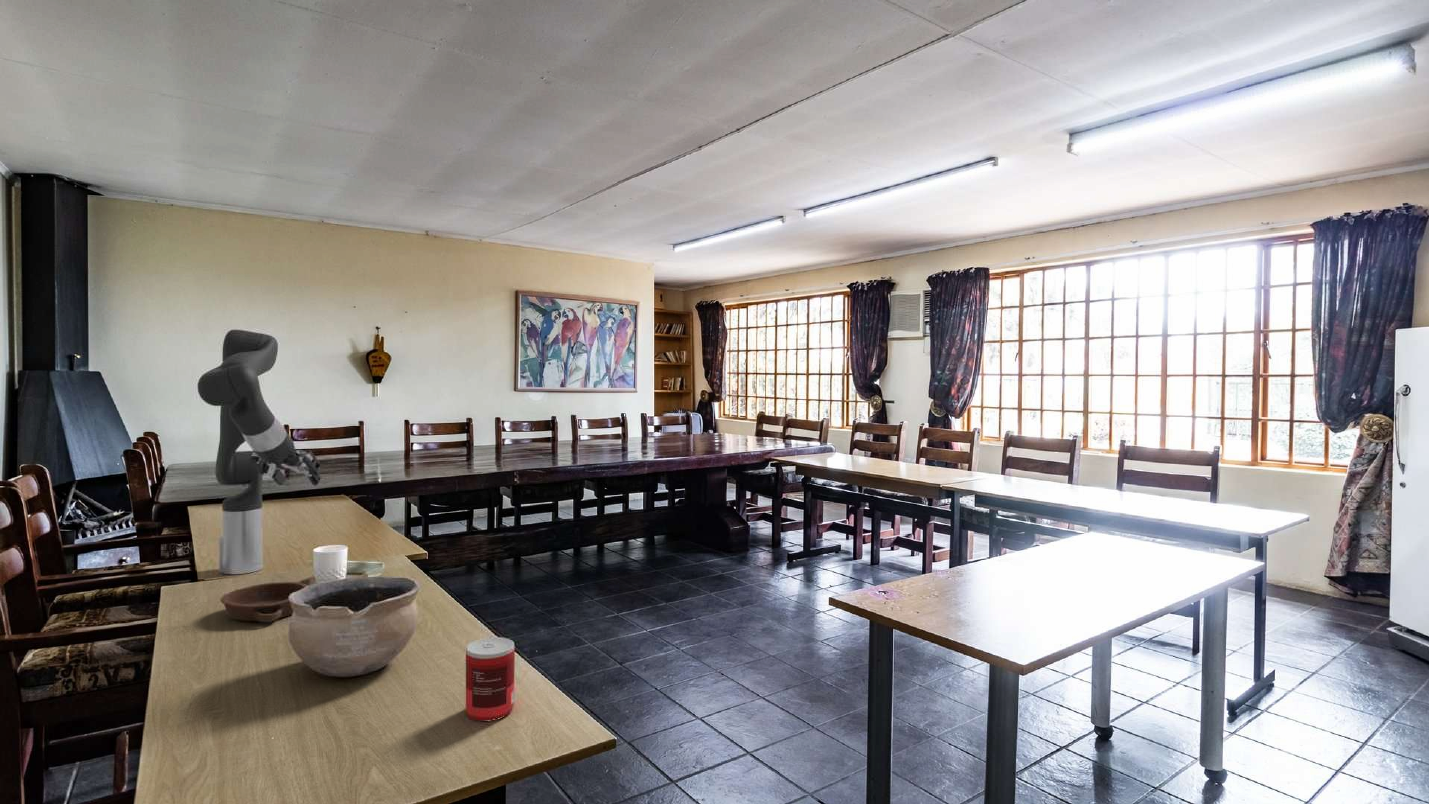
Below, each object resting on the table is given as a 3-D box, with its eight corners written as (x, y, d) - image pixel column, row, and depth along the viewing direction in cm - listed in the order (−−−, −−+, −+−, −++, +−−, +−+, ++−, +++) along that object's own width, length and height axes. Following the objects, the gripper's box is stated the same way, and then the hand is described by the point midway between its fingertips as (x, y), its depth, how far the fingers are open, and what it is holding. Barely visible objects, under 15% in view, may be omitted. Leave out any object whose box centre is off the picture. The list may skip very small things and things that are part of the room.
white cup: (305, 589, 181) (305, 550, 180) (330, 581, 188) (330, 543, 188) (330, 592, 179) (330, 553, 178) (354, 584, 186) (354, 546, 186)
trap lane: (281, 596, 175) (281, 584, 174) (340, 571, 198) (339, 560, 198) (331, 599, 173) (331, 586, 173) (384, 572, 197) (384, 562, 197)
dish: (218, 635, 149) (217, 612, 149) (223, 606, 168) (222, 585, 167) (313, 621, 158) (313, 599, 158) (308, 595, 177) (308, 575, 177)
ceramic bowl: (269, 698, 120) (269, 611, 120) (306, 650, 141) (306, 576, 141) (410, 685, 126) (410, 602, 126) (425, 641, 147) (426, 569, 146)
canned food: (496, 696, 122) (496, 633, 122) (524, 710, 117) (524, 644, 117) (455, 711, 116) (455, 645, 116) (483, 727, 111) (483, 658, 111)
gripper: (306, 425, 161) (335, 470, 172) (245, 425, 161) (278, 470, 173) (290, 450, 155) (322, 495, 167) (228, 450, 156) (263, 494, 168)
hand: (300, 482), depth 170 cm, fingers open, 8 cm apart
